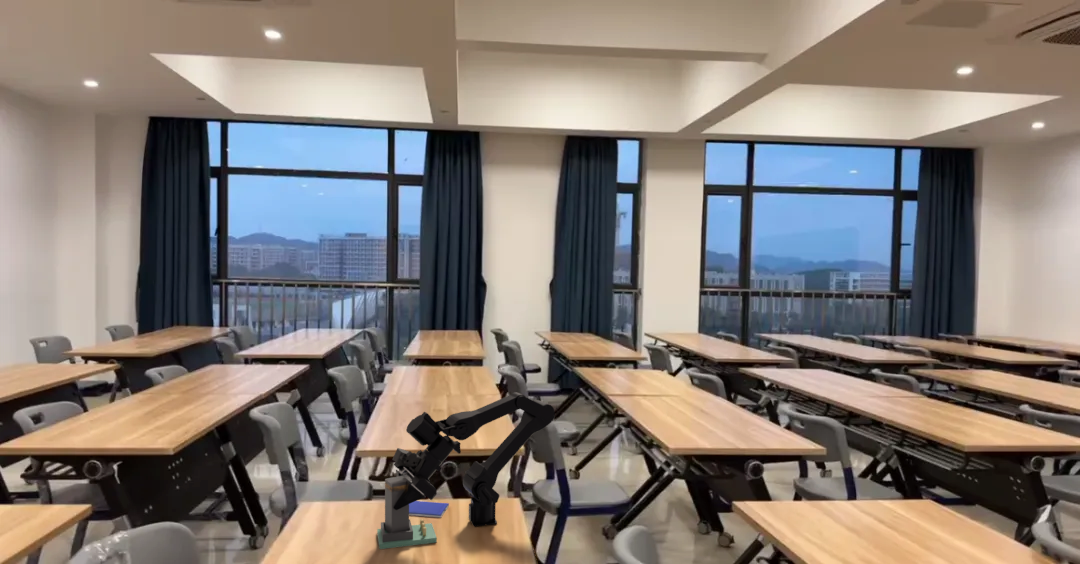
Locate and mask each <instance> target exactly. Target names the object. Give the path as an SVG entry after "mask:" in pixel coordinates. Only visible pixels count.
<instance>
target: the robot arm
mask: <svg viewBox="0 0 1080 564" xmlns="http://www.w3.org/2000/svg"><path fill="white" fill-rule="evenodd" d="M519 410H522V411H523V413H522V414H521V415H522V416H521V419H520V422H519V423H518V424H517V425H516V426H515V428H514V429H513V430H511V432H510V433H509V435H508V436H507V437H506V438H505V439H504V440H503V441H502V442H501V443H500V444H499V445H498V447H497V448H496V449H495V450H494V451H493V452H492V453H491V454H490V456H489V457H488V458H487V459H486V460H485V461H483V462H481V463H479V462H478V461H476V460H475V461H473V463H472V464H471V466H470V467H469V468H468V469H467V470H465V471H464V473H465V475H463V478H462V485H463V488H464V489H465V491H467V492H468V495H470V496H471V497H470V503H469V504H468V519H469V521H470V523H471V525H472V526H473V527H482V526H491V525H498V521H497V519H496V503H498V502H499V498H500V494H499V493H498V492H497V491H496V490H495V489H494V487H495V485H496V482H497V479H498V476H499V474H500V472H501V471H502V470H503V468H504V467H505V466H507V464H508V463H509V462H510V461H511V460H512V458H513V457H514V456H515V455H516V454H517V453H518V451H519V450H520V449H521V448H522V447H523V446H524V445H525V444H526V442H527V441H528V440H529V439H530V438H531V437H532V435H534V434H536V433H537V432H540V431H542V430H544V429H546V427H547V426H549V425H550V424H551V423H552V422H553V421H554V419H555V418H556V415H555V413H556V411H555V409H554V407H553V406H552V405H551V404H549V403H547V402H545V401H541V400H539V399H530V398H529V397H526V395H524V394H522V393H521V392H516V391H514V392H512V393H510V394H509V395H507V396H505V397H502V398H499V399H498V400H495V401H493V402H491V403H489V404H486V405H484V406H481V407H479V408H477V409H474V410H468V411H467V410H466V411H460V412H455V413H452V414H450V415H449V416H447V417H446V418H444V419H440V420H437V421H435V420H434V419H433V418H432V416H431V415H430V414H429V413H428V412H426V411H423V412H422V414H419V415H418V416H416V417H414V418H412V419H411V421H409V423H408V425H407V427H406V433H407V434H408V435H410V436H411V437H412V438H413V439H414V440H415V441H417V442H418V443H419V444H420V445H421V446H426V448H424V450H423V451H422V450H421V449H420V450H418V451H417V452H416V453H415V452H412V451H410V450H409V451H408V450H406V449H402V448H400V447H397V448H396V451H395V452H394V455H393V458H392V461H394V463H393V466H394V467H395V475H396V477H397V476H403V477H405V478H406V479H407V480H409V482H408V481H407V480H406V489H405V491H404V492H403V493H402V495H401V496H400V498H399V499H398V501H397V502H396V504H395V505H394V507H393V508H394V509H395V510H398V509H400V508H402V507H404V506H406V505H408V504H410V503H412V502H415V501H420V500H422V499H425V498H426V497H427V498H428V499H429V500H431V501H433V499H434V498H435V497H436V496H437V493H438V492H437V491H438V490H437V488H436V487H435V486H434V485H433V484H432V483H431V480H430V478H431V477H432V476H433V475H434V473H435V472H436V471H438V472H440V471H441V470H442V467H441V465H442V463H443V462H444V461H445V460H446V459H447V458H448V457H449V455H450V454H451V453H452V452H453V451H454V452H456V453H457V454H458V455H459V454H461V452H462V451H461V450H462V449H461V442H460V441H465V440H467V439H469V438H470V437H472V436H473V435H474V434H476V433H477V432H478V431H479V430H480V428H482V427H483V426H485V425H487V424H490V423H491V422H495V421H496V420H499V419H500V418H502V417H504V416H507V415H509V414H512V413H514V412H516V411H519ZM441 433H443V434H444V435H441ZM452 438H454V439H456V440H455V441H454V440H453V439H452Z"/></svg>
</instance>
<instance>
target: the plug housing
mask: <svg viewBox="0 0 1080 564" xmlns="http://www.w3.org/2000/svg"><path fill="white" fill-rule="evenodd" d="M406 480H407V479H406V478H405V477H403V476H397V475H396V476H394V477H393V476H392V477H388V478H385V479H384V491H385V492H384V522H385V530H386V531H387V532H388V533H393V532H402V531H409V519H410V515H409V504H408V505H406V506H404V507H402V508H400V509H398V510H395V509H394V508H393V507H394V505H395V504H396V502H397V501H398V499H399V498H400V496H401V495H402V493H403V492H404V491H405V489H406ZM407 481H408V482H409V480H407Z"/></svg>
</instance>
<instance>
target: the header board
mask: <svg viewBox="0 0 1080 564" xmlns="http://www.w3.org/2000/svg"><path fill="white" fill-rule="evenodd" d="M419 522H420V524H412V522H411V519H410V518H409V531H402V532H393V533H388V532H387V531H386V530H385V521H381V522H380V528H378V529H376V530H377V531H376V532H377V533H376V534H377V541H378V549H379V550H384V549H393V548H401V547H409V546H418V545H427V544H434V543H437V540H438V538H437V535H436V532H435V528H434V526H433V524H432V523H431V522H430V523H425V519H420V520H419Z"/></svg>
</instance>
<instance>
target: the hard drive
mask: <svg viewBox="0 0 1080 564" xmlns="http://www.w3.org/2000/svg"><path fill="white" fill-rule="evenodd" d="M448 506H449V507H450V503H448V502H435V501H421V500H417V501H415V502H412V503H410V504H409V516H412V517H413V516H416V517H425V518H427V517H428V518H429V517H430V518H442V517H443V515H444V514H445V513H446V511H447V510H448V508H449V507H448Z"/></svg>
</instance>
